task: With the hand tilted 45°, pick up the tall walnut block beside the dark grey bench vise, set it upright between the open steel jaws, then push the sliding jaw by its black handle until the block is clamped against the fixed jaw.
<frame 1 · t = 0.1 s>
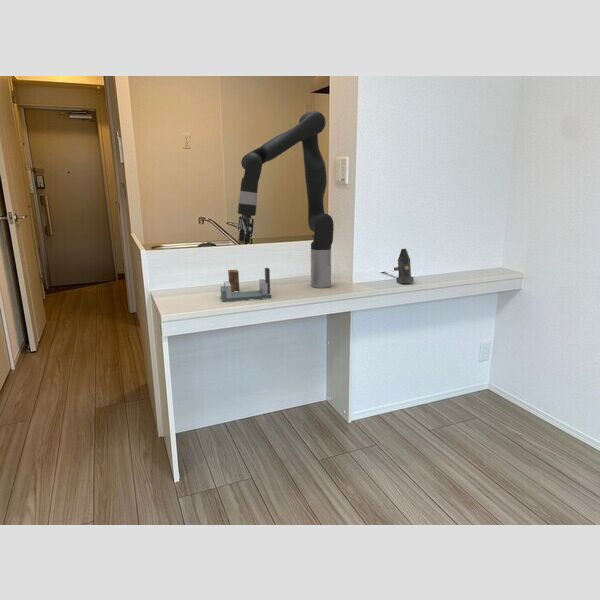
hand: (244, 242, 197), 22 cm above the worktop, tool pointing down, fingers open, 8 cm apart
block: (234, 290, 208), on the worktop
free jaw: (265, 280, 196), point 7 cm above the worktop, slide at 0.0 cm
vise: (246, 297, 196), on the worktop
dark tapered tower: (393, 278, 232), on the worktop
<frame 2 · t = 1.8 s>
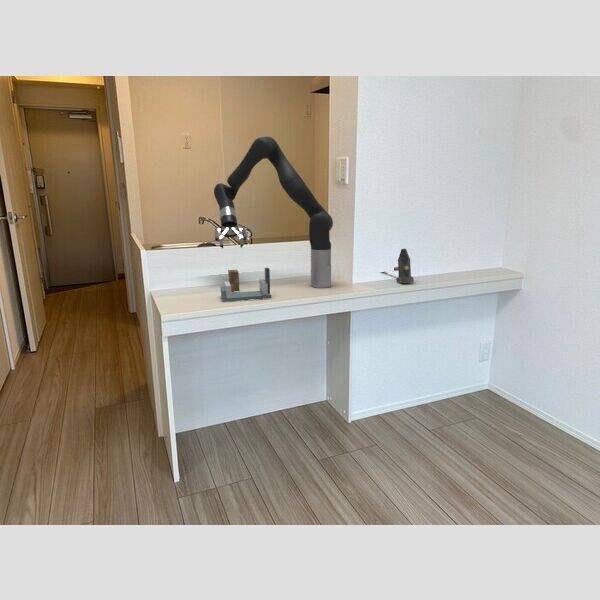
hand: (232, 246, 210), 19 cm above the worktop, tool tilted 45°, fingers open, 8 cm apart
nothing on the worktop moved.
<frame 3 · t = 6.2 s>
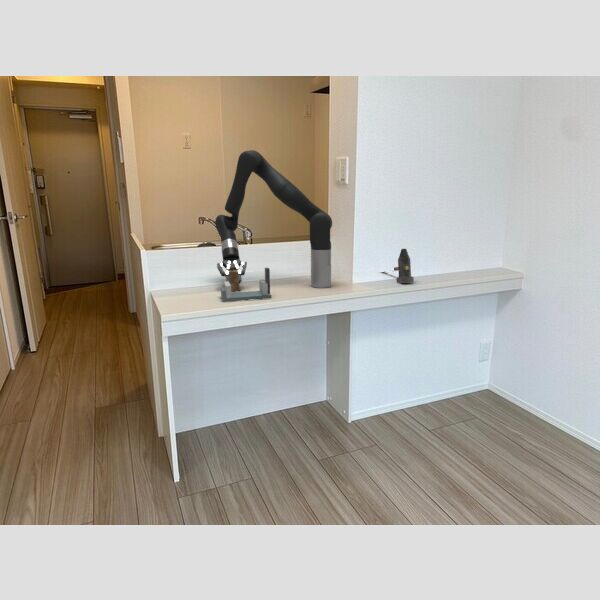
hand: (234, 282, 205), 4 cm above the worktop, tool tilted 45°, fingers closed on block, 4 cm apart
block: (234, 290, 208), on the worktop, touching gripper
everything else where it was.
when the fingers open (6 cm above the worktop, at t = 10.8 s): block stays where it is, resting on vise.
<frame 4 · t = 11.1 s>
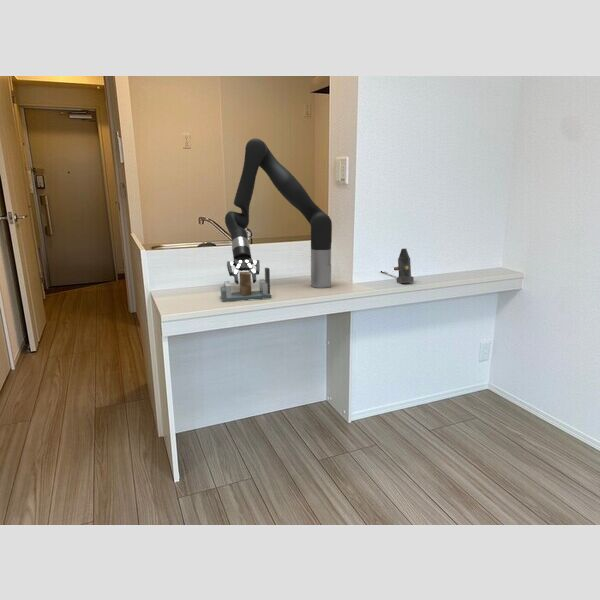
hand: (246, 282, 192), 7 cm above the worktop, tool tilted 45°, fingers open, 6 cm apart
block: (245, 294, 195), point 1 cm above the worktop, touching vise
everything else where it was.
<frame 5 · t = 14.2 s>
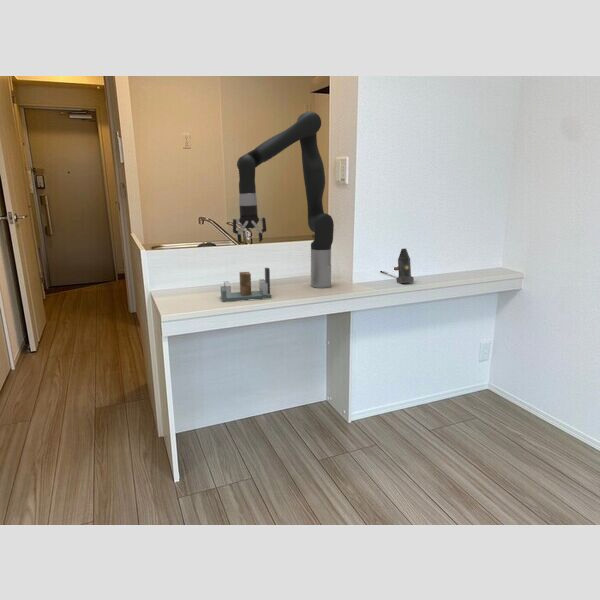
hand: (250, 242, 202), 22 cm above the worktop, tool pointing down, fingers open, 8 cm apart
nothing on the worktop moved.
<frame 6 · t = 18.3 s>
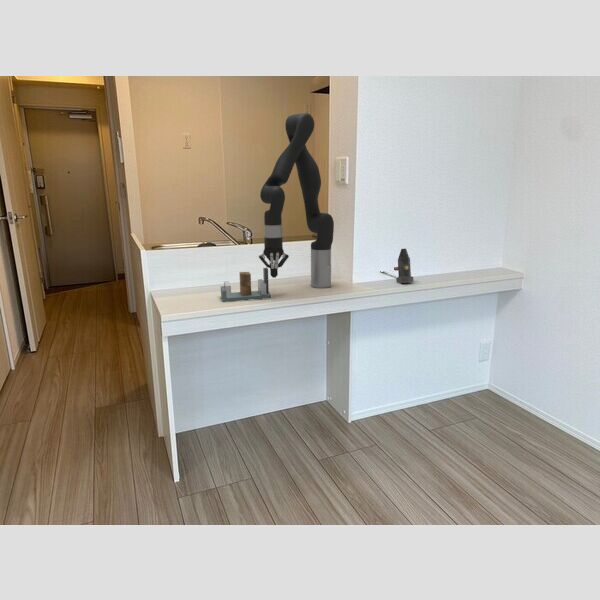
hand: (274, 277, 196), 8 cm above the worktop, tool pointing down, fingers closed
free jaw: (263, 280, 196), point 7 cm above the worktop, slide at 0.6 cm, touching gripper
everything else where it was.
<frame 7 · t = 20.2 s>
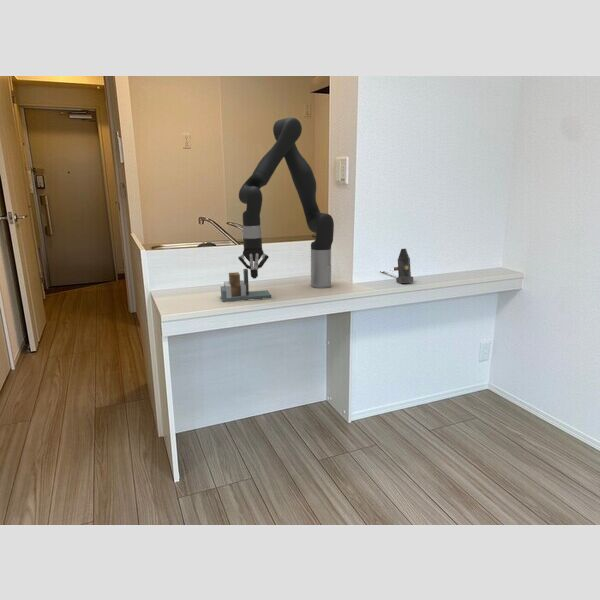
hand: (254, 278, 194), 8 cm above the worktop, tool pointing down, fingers closed
block: (235, 294, 194), point 2 cm above the worktop, touching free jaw, vise
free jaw: (243, 281, 194), point 7 cm above the worktop, slide at 9.0 cm, touching block, gripper
everything else where it was.
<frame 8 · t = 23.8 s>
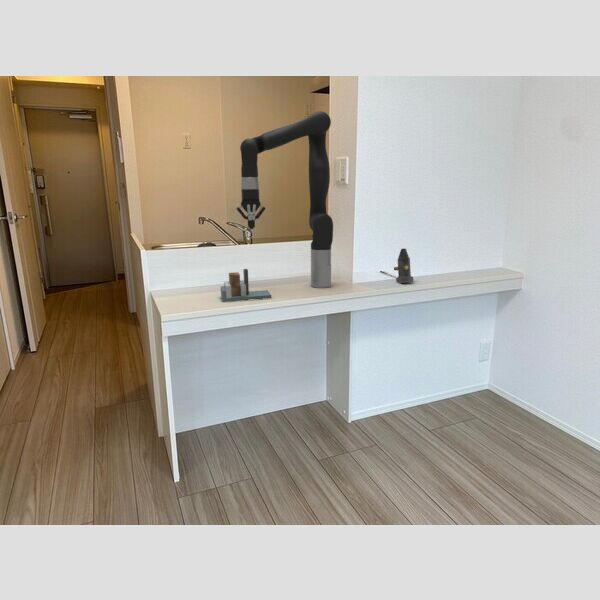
hand: (251, 228, 204), 27 cm above the worktop, tool pointing down, fingers closed
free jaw: (243, 281, 194), point 7 cm above the worktop, slide at 9.0 cm, touching block
everything else where it was.
at the end: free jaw slide at 9.0 cm; block 0.0 cm from the target spot on the vise, point 1.5 cm above the vise's base; block tilted 0° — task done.
